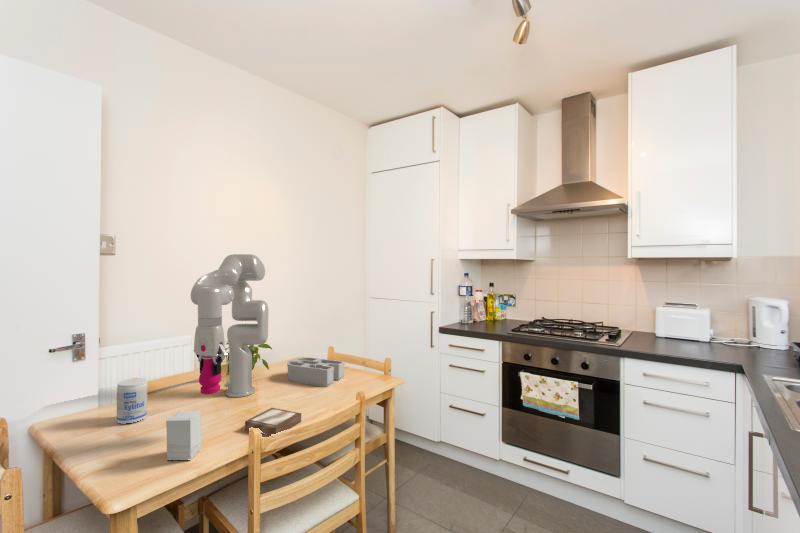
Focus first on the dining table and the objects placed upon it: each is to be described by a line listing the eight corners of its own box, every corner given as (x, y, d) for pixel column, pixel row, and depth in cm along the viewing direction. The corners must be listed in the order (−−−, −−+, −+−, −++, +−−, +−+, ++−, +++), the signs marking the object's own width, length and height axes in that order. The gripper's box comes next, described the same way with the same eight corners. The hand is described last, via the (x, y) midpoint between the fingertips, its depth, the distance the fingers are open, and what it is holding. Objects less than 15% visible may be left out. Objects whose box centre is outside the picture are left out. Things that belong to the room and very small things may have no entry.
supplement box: (202, 449, 125) (202, 410, 124) (190, 461, 117) (190, 420, 117) (178, 449, 124) (178, 410, 124) (165, 461, 117) (165, 420, 117)
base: (244, 430, 139) (244, 420, 138) (271, 415, 151) (271, 407, 151) (276, 437, 133) (276, 427, 133) (301, 421, 146) (301, 412, 146)
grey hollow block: (327, 387, 185) (327, 370, 185) (280, 380, 196) (280, 363, 196) (345, 378, 201) (345, 361, 201) (300, 372, 211) (300, 356, 211)
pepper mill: (212, 395, 132) (211, 337, 131) (194, 394, 133) (193, 336, 132) (226, 388, 139) (225, 333, 138) (208, 387, 140) (207, 332, 139)
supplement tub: (124, 427, 140) (124, 387, 140) (111, 421, 145) (111, 383, 145) (152, 417, 149) (152, 380, 149) (139, 413, 154) (139, 376, 153)
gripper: (183, 322, 135) (183, 373, 135) (219, 326, 128) (219, 380, 129) (201, 318, 142) (201, 367, 142) (236, 322, 135) (237, 373, 136)
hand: (210, 372), depth 136 cm, fingers closed on pepper mill, 5 cm apart
